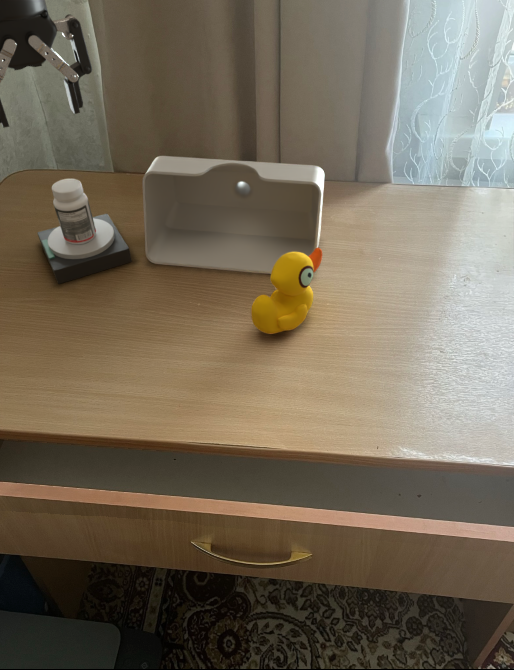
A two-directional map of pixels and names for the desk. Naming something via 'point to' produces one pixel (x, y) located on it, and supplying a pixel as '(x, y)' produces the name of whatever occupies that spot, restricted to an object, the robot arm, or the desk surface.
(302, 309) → the duckling
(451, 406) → the desk surface
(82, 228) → the pill bottle
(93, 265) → the scale
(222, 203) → the tank
